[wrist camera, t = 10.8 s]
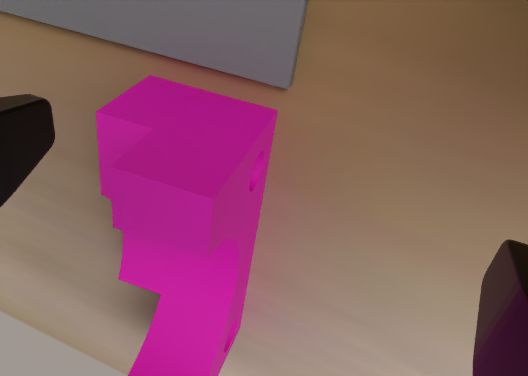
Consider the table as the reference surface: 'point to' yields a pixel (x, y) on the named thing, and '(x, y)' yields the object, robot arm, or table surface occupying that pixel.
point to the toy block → (185, 213)
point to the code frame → (189, 30)
